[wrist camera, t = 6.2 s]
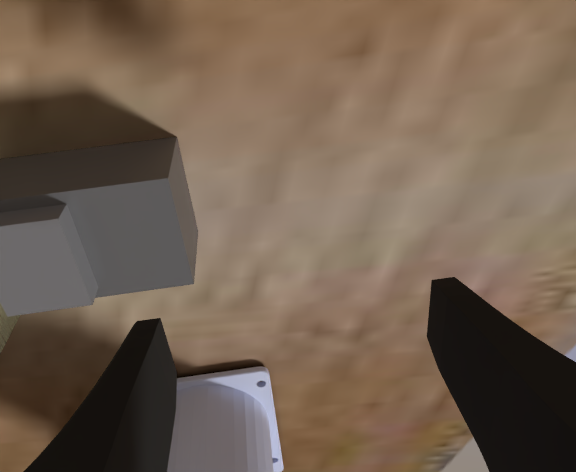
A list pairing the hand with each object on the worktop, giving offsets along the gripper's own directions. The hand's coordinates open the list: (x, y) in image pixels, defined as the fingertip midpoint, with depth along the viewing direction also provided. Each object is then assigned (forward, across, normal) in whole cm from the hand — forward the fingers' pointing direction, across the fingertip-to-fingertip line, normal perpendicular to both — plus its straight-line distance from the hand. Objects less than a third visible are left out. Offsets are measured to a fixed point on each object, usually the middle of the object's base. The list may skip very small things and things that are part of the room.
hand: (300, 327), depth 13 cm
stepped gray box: (+10, +7, 0) cm, 12 cm away
